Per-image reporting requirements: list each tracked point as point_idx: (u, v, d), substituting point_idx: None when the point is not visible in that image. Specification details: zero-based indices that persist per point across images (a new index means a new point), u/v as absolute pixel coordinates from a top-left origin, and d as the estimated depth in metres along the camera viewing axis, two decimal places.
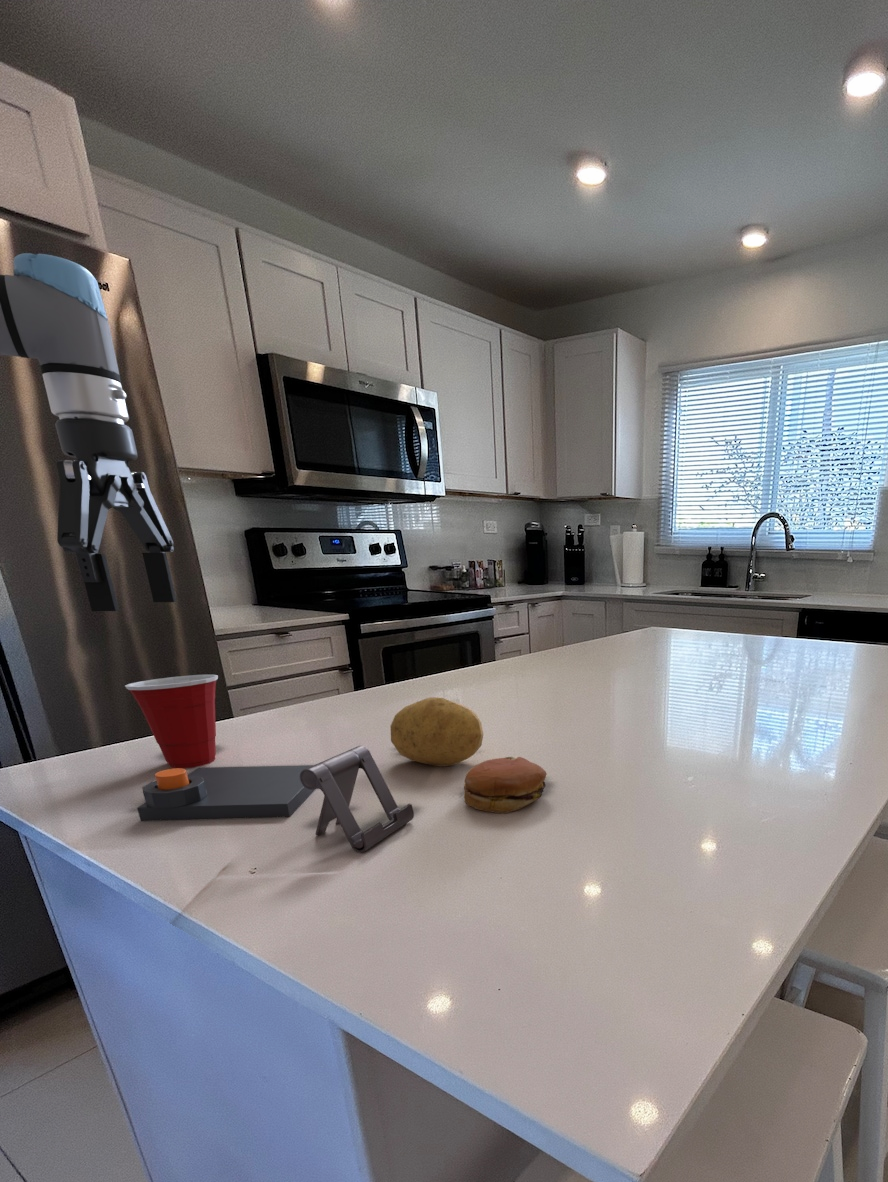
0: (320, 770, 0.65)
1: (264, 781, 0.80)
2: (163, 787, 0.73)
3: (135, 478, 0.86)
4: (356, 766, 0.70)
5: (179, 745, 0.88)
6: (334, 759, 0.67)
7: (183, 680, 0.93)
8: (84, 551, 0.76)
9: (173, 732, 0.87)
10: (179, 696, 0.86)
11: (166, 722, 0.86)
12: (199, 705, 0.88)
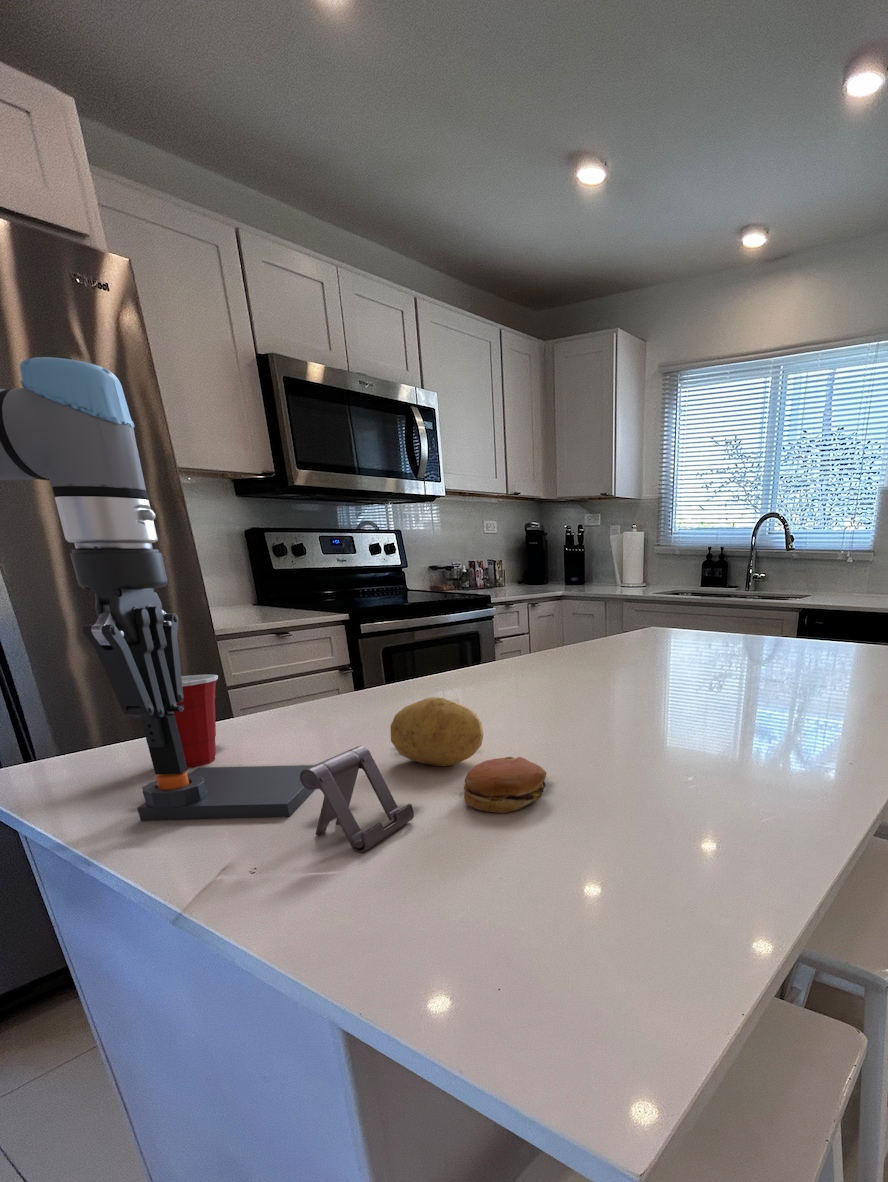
0: (320, 770, 0.65)
1: (264, 781, 0.80)
2: (163, 789, 0.73)
3: (165, 617, 0.72)
4: (356, 766, 0.70)
5: None
6: (334, 759, 0.67)
7: (183, 680, 0.93)
8: (150, 717, 0.69)
9: None
10: None
11: None
12: (199, 705, 0.88)
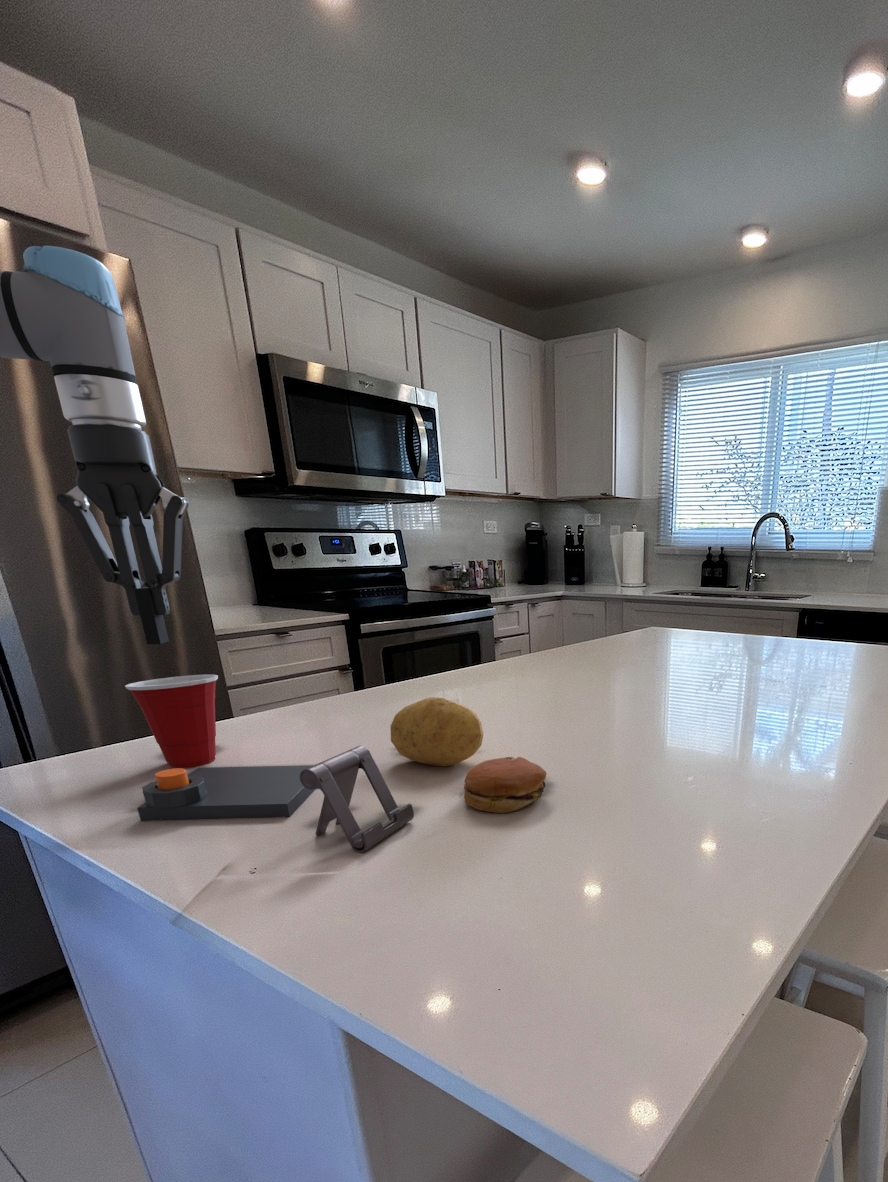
0: (320, 770, 0.65)
1: (264, 781, 0.80)
2: (163, 787, 0.73)
3: None
4: (356, 766, 0.70)
5: (179, 745, 0.88)
6: (334, 759, 0.67)
7: (183, 680, 0.93)
8: (122, 585, 0.78)
9: (173, 732, 0.87)
10: (179, 696, 0.86)
11: (166, 722, 0.86)
12: (199, 705, 0.88)
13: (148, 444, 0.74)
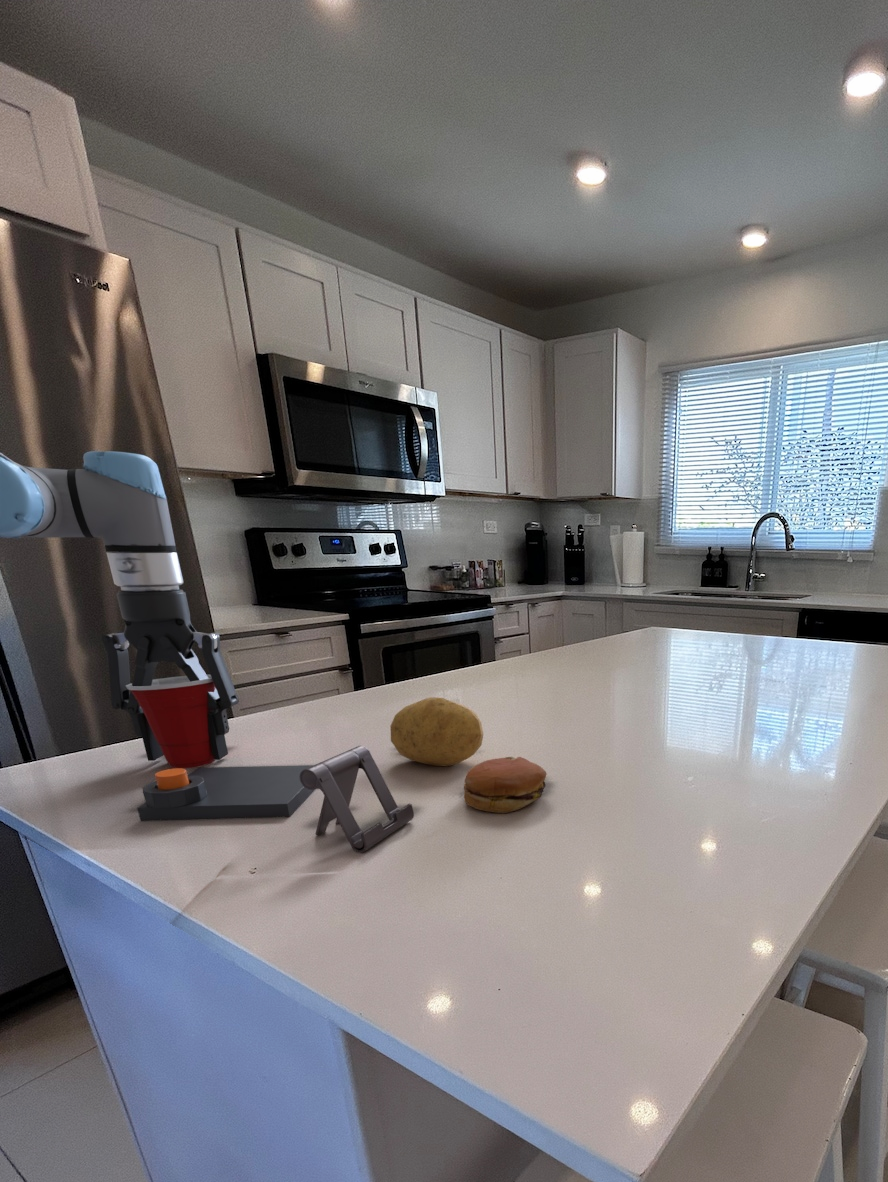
0: (320, 770, 0.65)
1: (264, 781, 0.80)
2: (163, 787, 0.73)
3: None
4: (356, 766, 0.70)
5: (180, 745, 0.88)
6: (334, 759, 0.67)
7: (184, 680, 0.93)
8: None
9: (174, 732, 0.87)
10: (180, 696, 0.86)
11: (167, 722, 0.86)
12: (200, 706, 0.88)
13: (183, 601, 0.85)
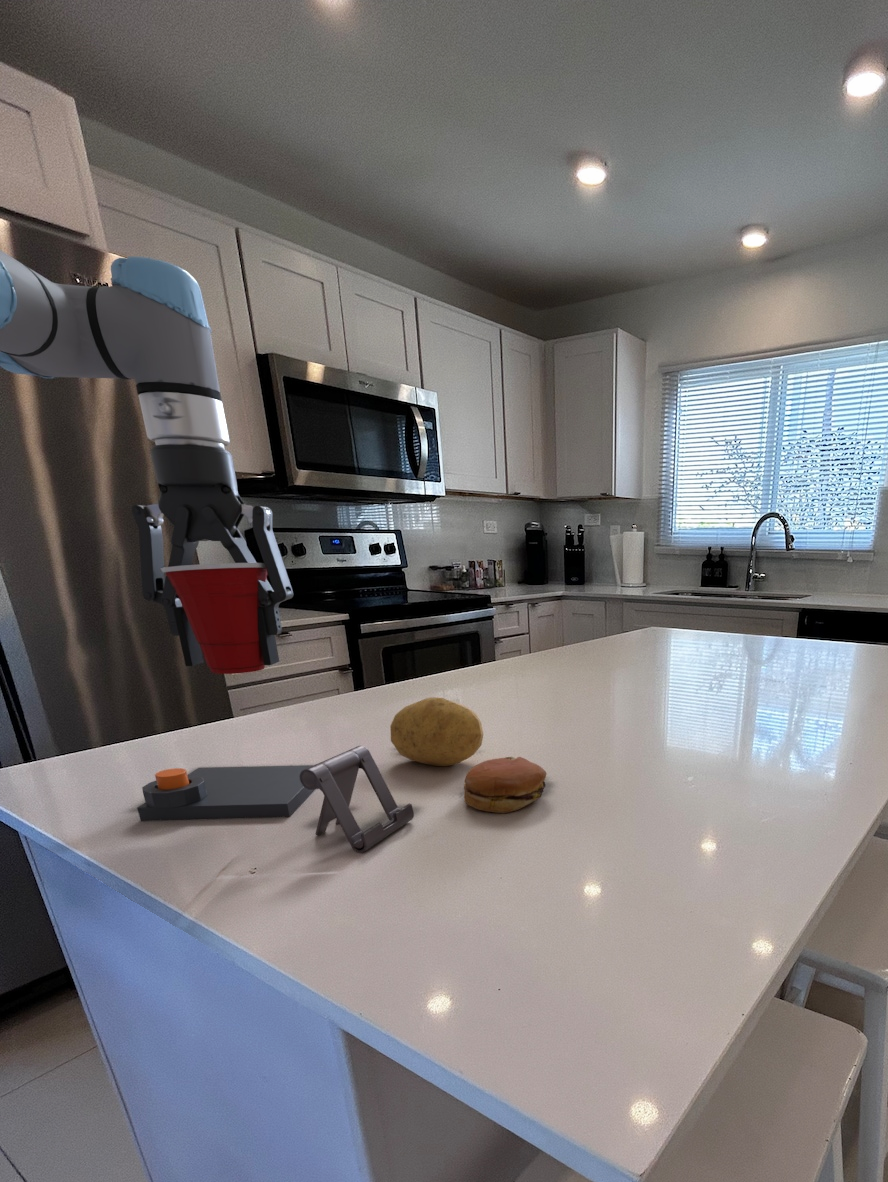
0: (320, 770, 0.65)
1: (264, 781, 0.80)
2: (163, 787, 0.73)
3: None
4: (356, 766, 0.69)
5: (225, 644, 0.73)
6: (334, 759, 0.67)
7: None
8: (163, 604, 0.74)
9: (219, 627, 0.72)
10: (227, 580, 0.70)
11: (211, 613, 0.71)
12: (249, 595, 0.73)
13: (230, 464, 0.70)
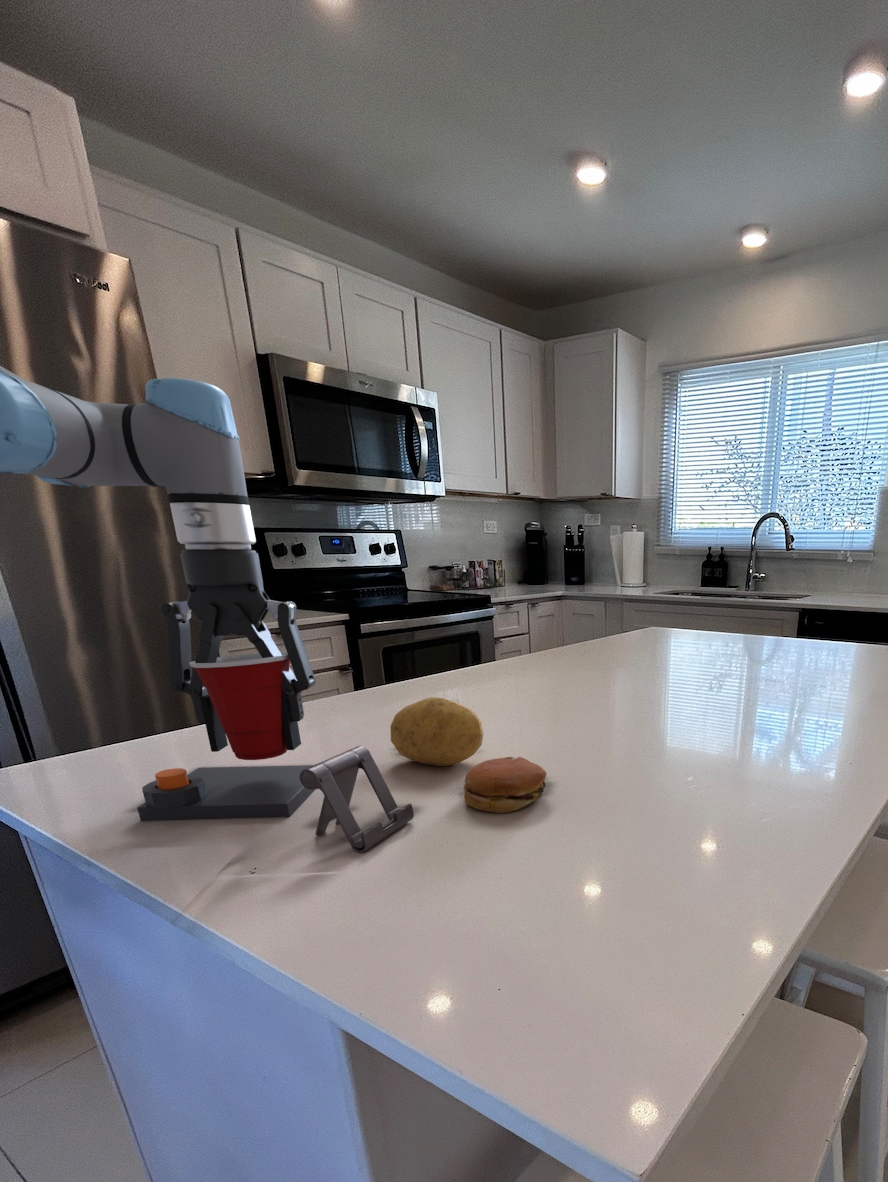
0: (320, 770, 0.65)
1: (264, 781, 0.80)
2: (163, 787, 0.73)
3: None
4: (356, 766, 0.69)
5: (251, 733, 0.76)
6: (334, 759, 0.67)
7: (251, 659, 0.81)
8: None
9: (244, 718, 0.75)
10: (253, 675, 0.73)
11: (237, 705, 0.74)
12: (274, 687, 0.75)
13: (256, 563, 0.72)
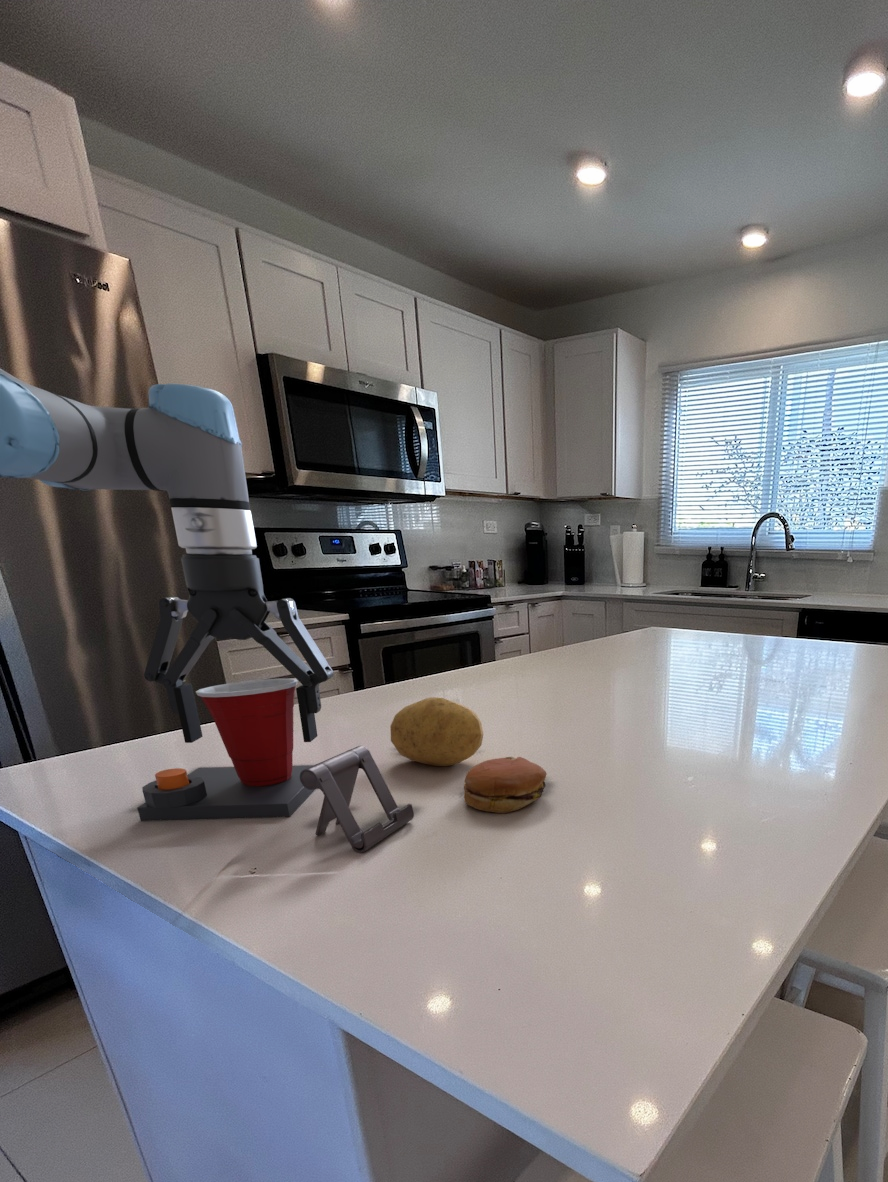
0: (320, 770, 0.65)
1: None
2: (163, 787, 0.73)
3: None
4: (356, 766, 0.70)
5: (256, 760, 0.77)
6: (334, 759, 0.67)
7: (256, 685, 0.82)
8: None
9: (250, 745, 0.76)
10: (259, 704, 0.74)
11: (243, 733, 0.75)
12: (279, 714, 0.77)
13: (257, 568, 0.73)
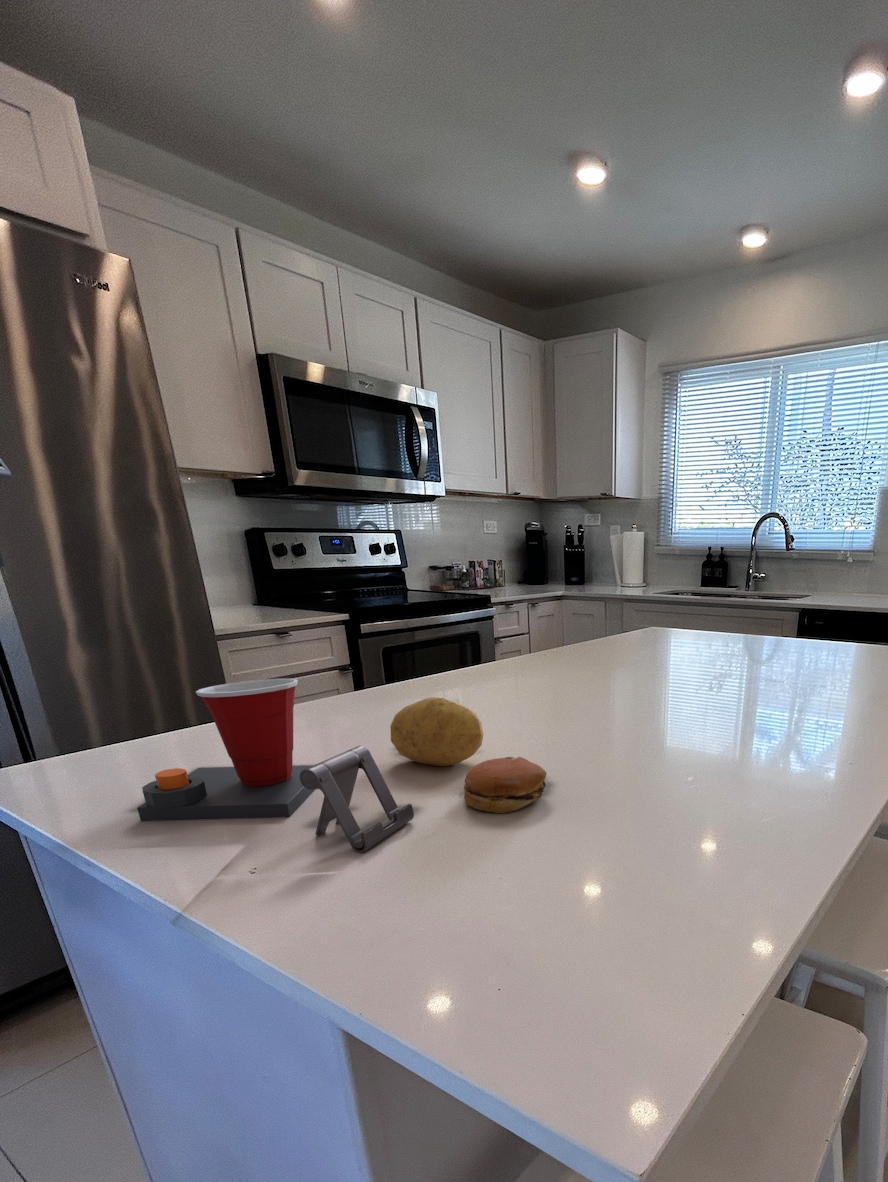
0: (320, 770, 0.65)
1: None
2: (163, 787, 0.73)
3: None
4: (356, 766, 0.69)
5: (256, 760, 0.77)
6: (334, 759, 0.67)
7: (256, 685, 0.82)
8: None
9: (250, 745, 0.76)
10: (259, 704, 0.74)
11: (243, 733, 0.75)
12: (279, 714, 0.77)
13: None
